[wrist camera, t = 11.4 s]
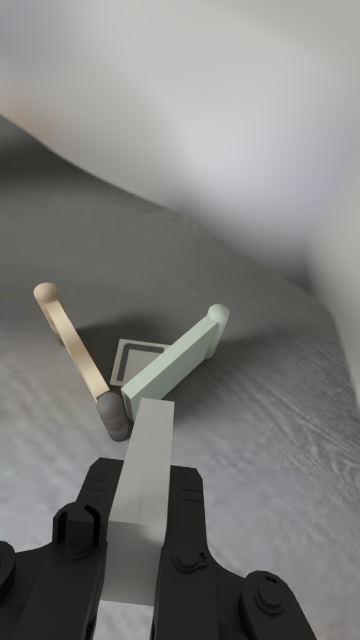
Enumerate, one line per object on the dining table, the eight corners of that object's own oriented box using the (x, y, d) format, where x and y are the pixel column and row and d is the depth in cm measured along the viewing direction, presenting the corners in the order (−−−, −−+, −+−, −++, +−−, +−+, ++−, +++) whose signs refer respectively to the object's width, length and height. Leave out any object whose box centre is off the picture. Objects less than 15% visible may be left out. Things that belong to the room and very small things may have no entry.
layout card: (120, 339, 39) (119, 338, 38) (170, 346, 39) (170, 345, 38) (109, 385, 36) (109, 383, 35) (164, 392, 36) (164, 391, 36)
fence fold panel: (137, 426, 33) (133, 402, 26) (124, 412, 34) (117, 385, 27) (217, 351, 38) (233, 313, 31) (205, 340, 39) (218, 300, 32)
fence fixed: (55, 336, 38) (30, 288, 30) (71, 328, 39) (51, 279, 31) (115, 445, 33) (104, 423, 25) (132, 434, 33) (127, 409, 25)
